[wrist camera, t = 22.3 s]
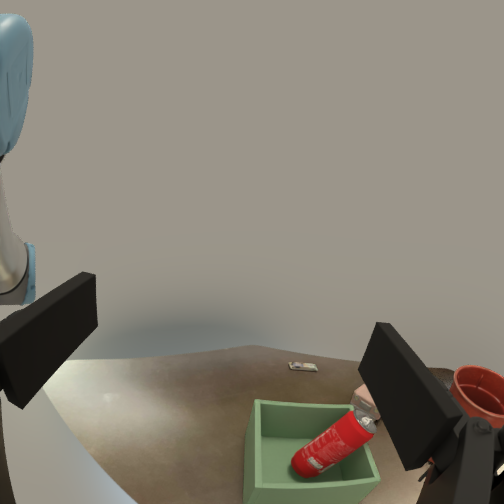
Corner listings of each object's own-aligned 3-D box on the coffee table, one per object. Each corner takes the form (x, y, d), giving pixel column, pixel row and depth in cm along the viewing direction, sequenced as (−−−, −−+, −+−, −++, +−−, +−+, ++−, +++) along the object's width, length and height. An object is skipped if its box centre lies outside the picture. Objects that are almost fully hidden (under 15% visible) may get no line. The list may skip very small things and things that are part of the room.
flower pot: (439, 415, 45) (473, 356, 41) (485, 452, 30) (529, 392, 26) (397, 445, 38) (439, 379, 34) (450, 494, 23) (509, 430, 19)
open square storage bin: (242, 513, 25) (254, 487, 22) (245, 434, 40) (254, 398, 38) (352, 509, 25) (381, 480, 23) (333, 438, 40) (352, 404, 38)
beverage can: (283, 458, 32) (348, 410, 30) (300, 450, 35) (359, 404, 34) (303, 484, 28) (372, 438, 26) (318, 474, 32) (381, 429, 30)
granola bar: (315, 366, 63) (316, 363, 62) (317, 372, 60) (318, 368, 60) (287, 364, 62) (289, 360, 62) (289, 369, 60) (290, 366, 60)
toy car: (340, 406, 49) (357, 368, 47) (375, 379, 59) (390, 345, 56) (375, 430, 42) (398, 392, 40) (405, 397, 52) (423, 362, 50)
